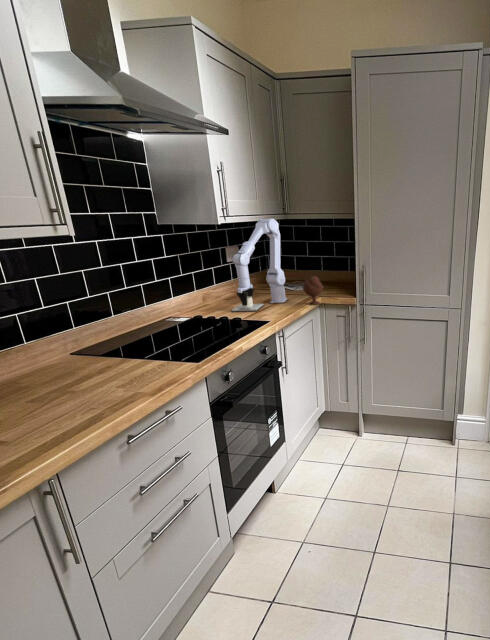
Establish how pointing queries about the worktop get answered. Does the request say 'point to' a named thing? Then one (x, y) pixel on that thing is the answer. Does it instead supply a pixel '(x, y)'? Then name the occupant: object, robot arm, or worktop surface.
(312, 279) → the brown tree model
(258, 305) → the scale
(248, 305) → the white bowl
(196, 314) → the worktop surface
